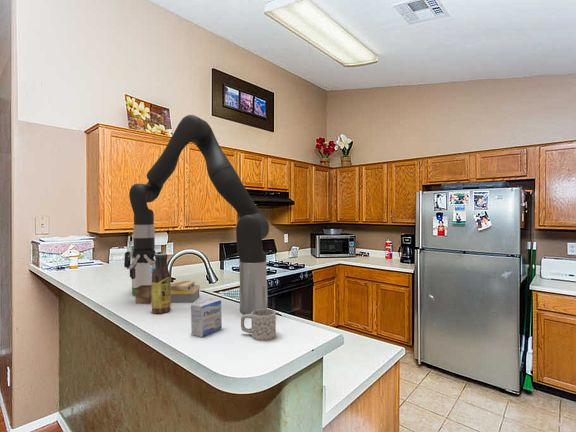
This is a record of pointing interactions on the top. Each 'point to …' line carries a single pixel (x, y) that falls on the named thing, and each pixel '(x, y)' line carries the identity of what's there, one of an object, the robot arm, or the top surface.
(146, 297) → the crate
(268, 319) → the mug
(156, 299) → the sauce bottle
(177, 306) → the top surface
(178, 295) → the yellow and gray block
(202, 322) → the medicine box
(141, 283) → the wine bottle
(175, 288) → the pallet
